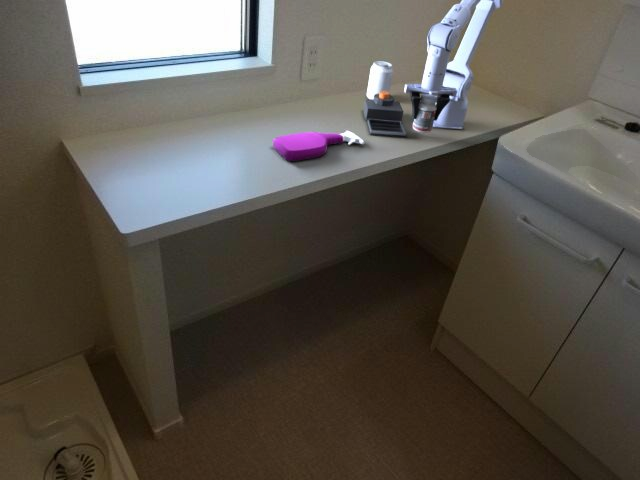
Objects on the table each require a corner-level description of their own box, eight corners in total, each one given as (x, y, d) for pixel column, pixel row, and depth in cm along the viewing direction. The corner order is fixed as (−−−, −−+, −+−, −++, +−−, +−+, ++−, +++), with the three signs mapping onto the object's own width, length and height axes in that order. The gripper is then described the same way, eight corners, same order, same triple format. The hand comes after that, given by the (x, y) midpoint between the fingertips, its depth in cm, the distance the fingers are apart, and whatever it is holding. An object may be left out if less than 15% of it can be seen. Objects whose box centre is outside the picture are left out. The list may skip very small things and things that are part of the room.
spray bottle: (270, 146, 130) (345, 133, 142) (289, 164, 123) (366, 149, 135) (270, 135, 128) (346, 124, 140) (290, 153, 121) (368, 139, 133)
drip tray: (400, 125, 150) (401, 121, 149) (405, 137, 143) (406, 133, 142) (367, 122, 149) (367, 118, 148) (370, 135, 142) (371, 130, 141)
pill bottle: (432, 134, 141) (441, 101, 135) (413, 132, 141) (420, 99, 135) (429, 126, 145) (437, 94, 139) (411, 124, 145) (418, 92, 139)
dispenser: (396, 112, 158) (399, 94, 154) (400, 124, 150) (404, 105, 147) (362, 110, 157) (365, 91, 153) (365, 121, 149) (368, 102, 146)
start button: (388, 96, 153) (389, 91, 152) (389, 100, 150) (390, 94, 149) (378, 95, 152) (379, 90, 151) (379, 99, 150) (380, 94, 149)
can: (380, 104, 162) (386, 68, 154) (362, 98, 165) (367, 62, 158) (391, 99, 167) (398, 64, 159) (373, 93, 170) (379, 58, 163)
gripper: (411, 74, 129) (402, 122, 137) (464, 78, 130) (451, 125, 138) (407, 65, 135) (398, 112, 143) (457, 70, 136) (446, 115, 144)
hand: (424, 118), depth 141 cm, fingers closed on pill bottle, 5 cm apart
